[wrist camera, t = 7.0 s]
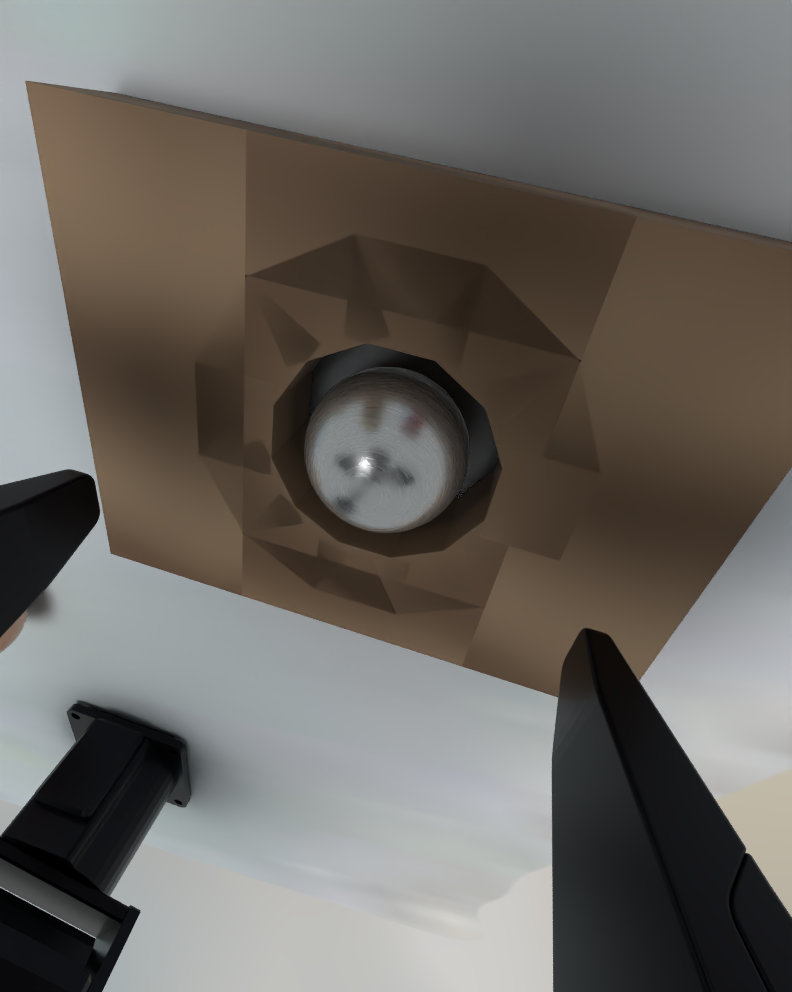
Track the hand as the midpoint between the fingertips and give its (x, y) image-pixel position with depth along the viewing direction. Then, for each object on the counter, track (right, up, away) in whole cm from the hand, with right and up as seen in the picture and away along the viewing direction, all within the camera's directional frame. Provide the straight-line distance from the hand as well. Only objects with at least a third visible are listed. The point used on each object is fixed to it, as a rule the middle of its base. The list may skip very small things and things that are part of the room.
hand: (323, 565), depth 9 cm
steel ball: (+1, +2, +4) cm, 4 cm away
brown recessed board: (+2, +3, +5) cm, 6 cm away
